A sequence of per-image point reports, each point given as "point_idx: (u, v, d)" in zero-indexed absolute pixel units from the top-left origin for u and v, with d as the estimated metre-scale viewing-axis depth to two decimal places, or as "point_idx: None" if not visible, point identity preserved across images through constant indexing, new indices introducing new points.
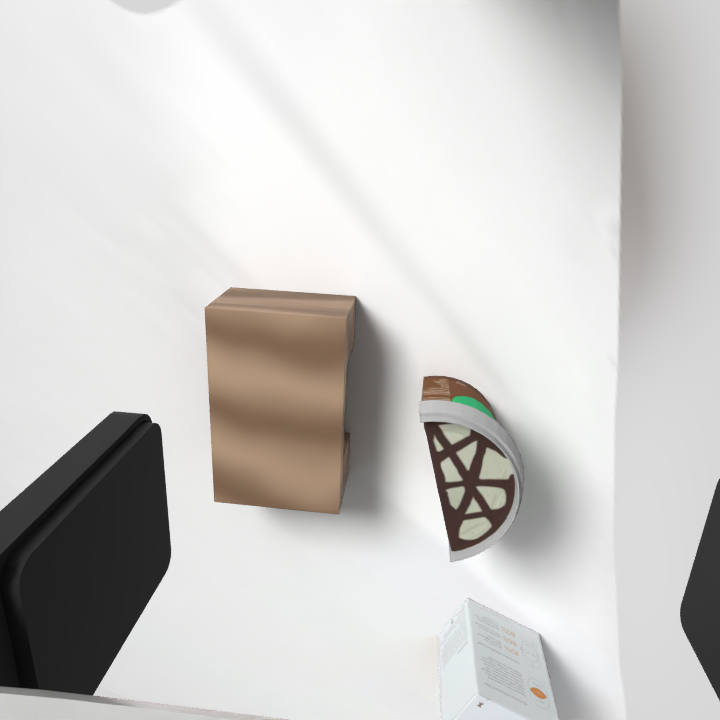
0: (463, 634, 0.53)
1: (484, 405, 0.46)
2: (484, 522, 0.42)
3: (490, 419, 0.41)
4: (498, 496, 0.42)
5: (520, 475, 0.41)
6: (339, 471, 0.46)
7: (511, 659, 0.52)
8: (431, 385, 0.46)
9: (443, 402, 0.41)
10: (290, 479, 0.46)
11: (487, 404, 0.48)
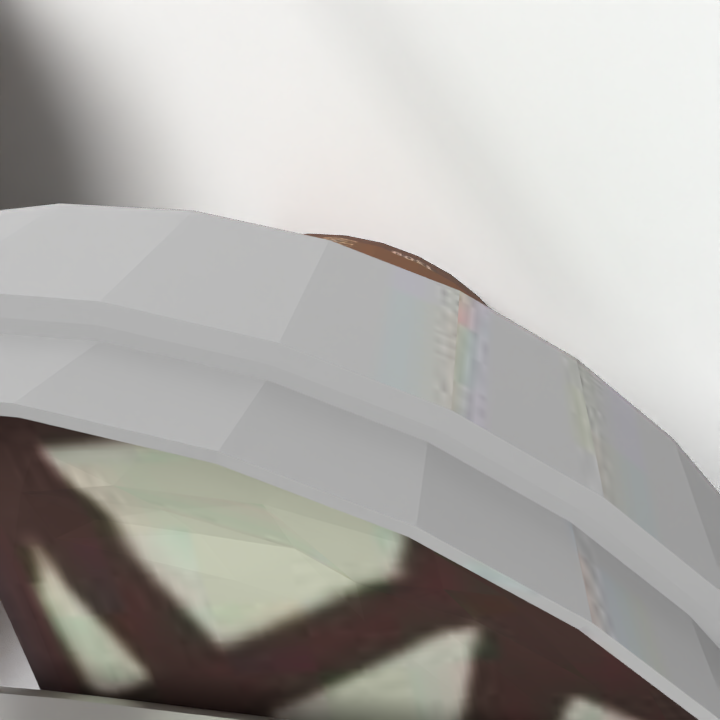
0: None
1: None
2: None
3: (614, 406, 0.04)
4: None
5: None
6: None
7: None
8: None
9: (151, 219, 0.04)
10: None
11: None
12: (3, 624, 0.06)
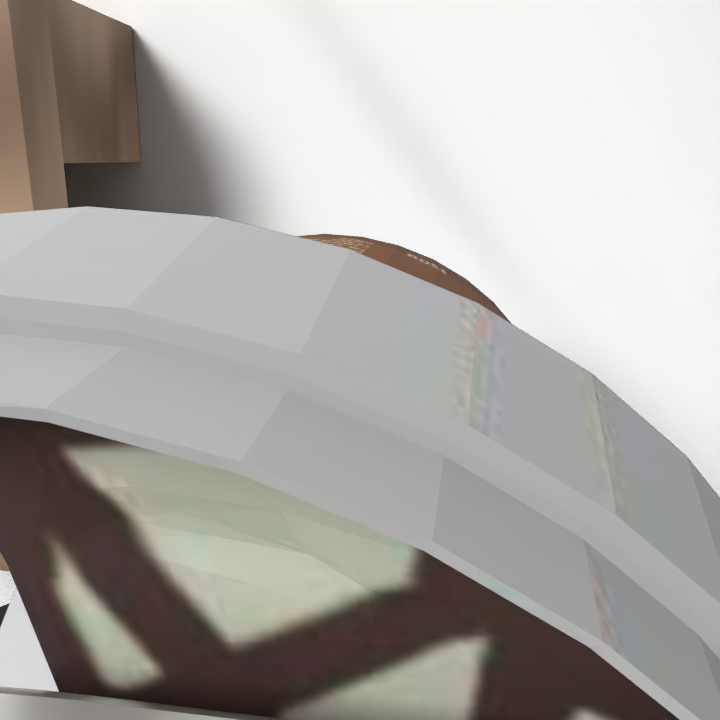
0: None
1: None
2: None
3: (628, 422, 0.04)
4: None
5: None
6: None
7: None
8: None
9: (176, 225, 0.04)
10: None
11: None
12: (15, 622, 0.06)
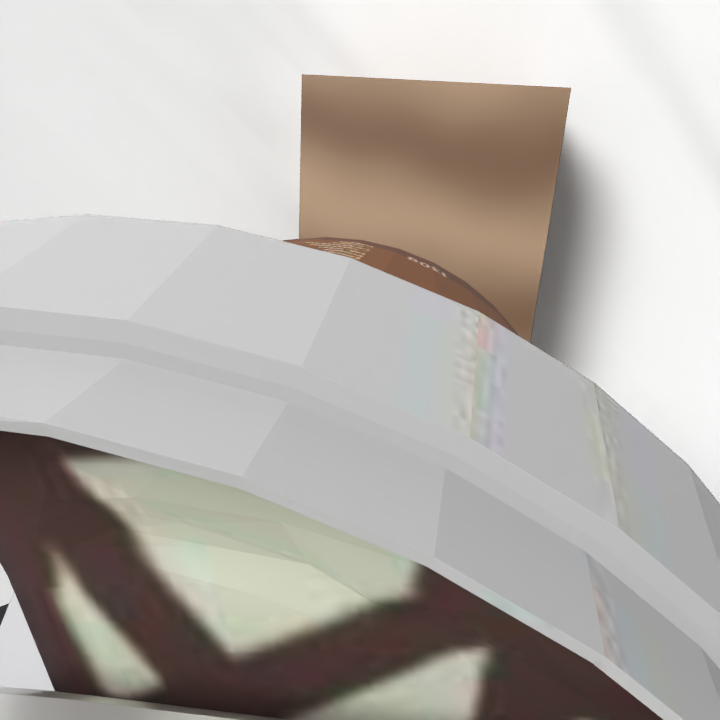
0: None
1: None
2: None
3: (630, 431, 0.04)
4: None
5: None
6: None
7: None
8: None
9: (176, 234, 0.04)
10: None
11: None
12: (14, 622, 0.06)
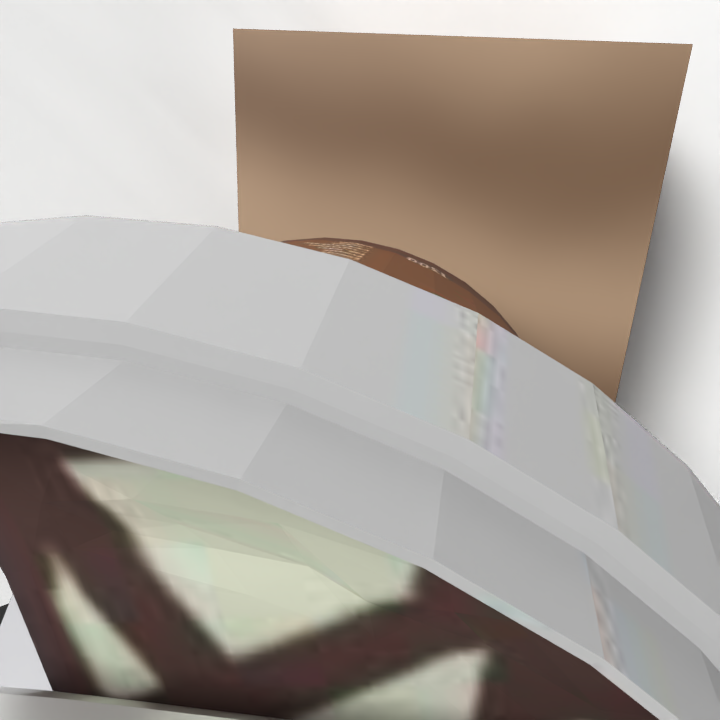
0: None
1: None
2: None
3: (629, 432, 0.04)
4: None
5: None
6: None
7: None
8: None
9: (175, 234, 0.04)
10: None
11: None
12: (15, 622, 0.06)
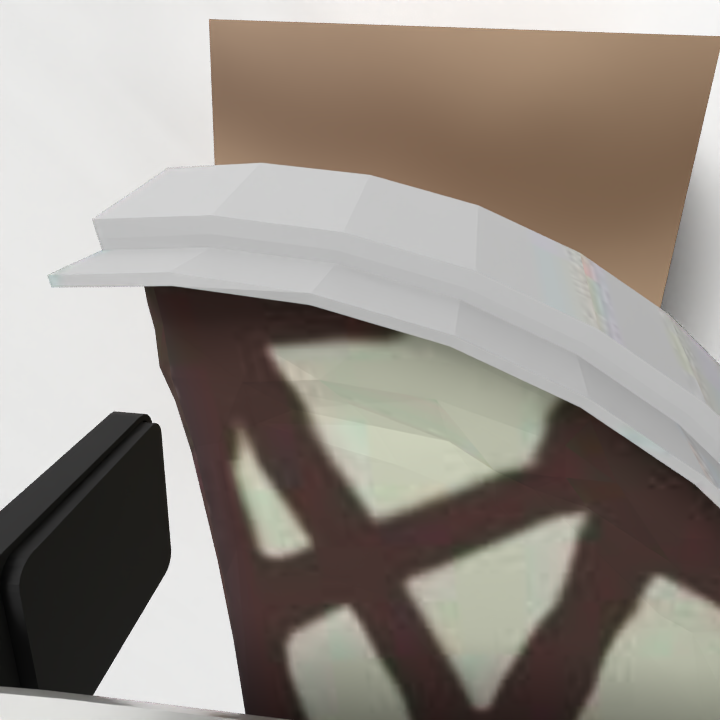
0: None
1: None
2: None
3: (698, 352, 0.05)
4: None
5: None
6: None
7: None
8: None
9: (342, 179, 0.05)
10: None
11: None
12: None
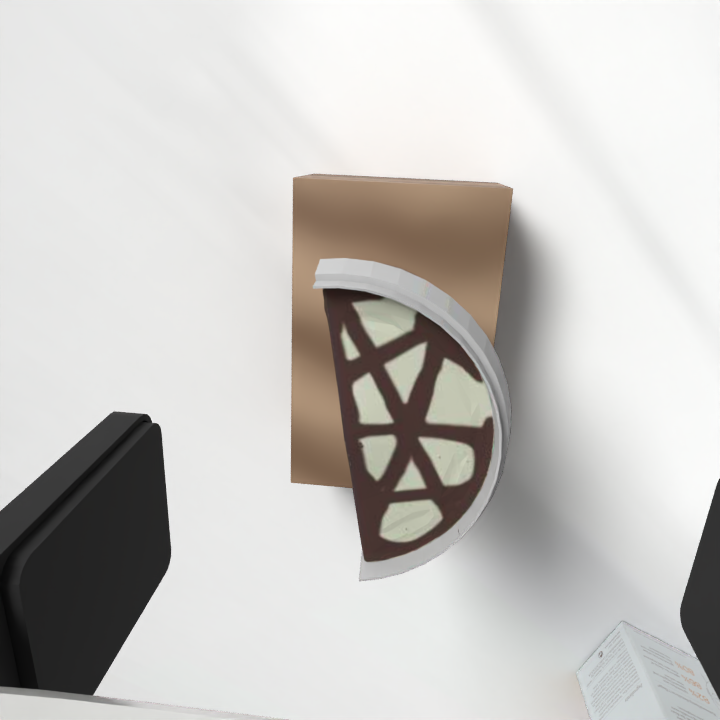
0: (629, 674, 0.38)
1: None
2: (429, 510, 0.22)
3: (456, 305, 0.21)
4: (460, 460, 0.21)
5: (505, 420, 0.21)
6: None
7: (704, 709, 0.36)
8: None
9: (367, 263, 0.20)
10: None
11: None
12: None
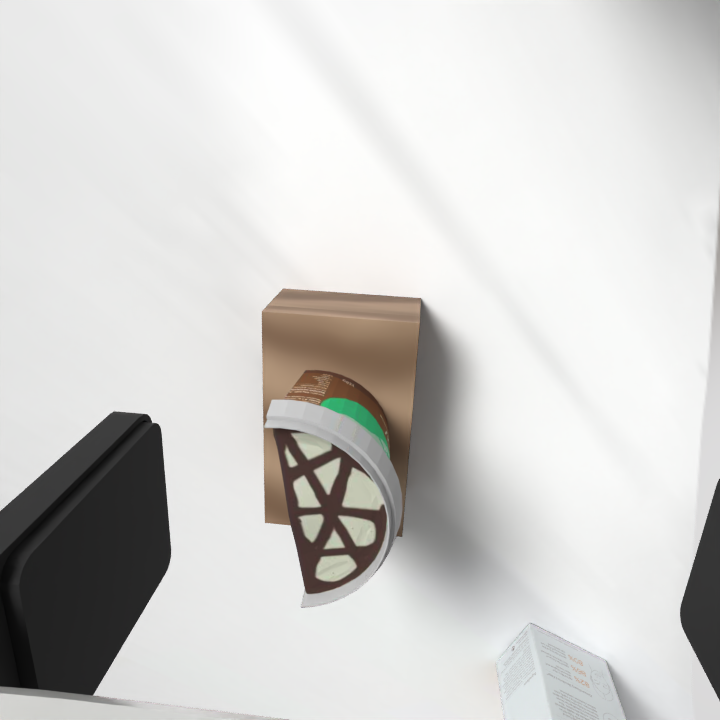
0: (529, 664, 0.49)
1: (370, 412, 0.37)
2: (347, 561, 0.33)
3: (361, 431, 0.31)
4: (366, 530, 0.32)
5: (393, 506, 0.31)
6: (404, 490, 0.42)
7: (583, 692, 0.47)
8: (308, 380, 0.37)
9: (302, 404, 0.31)
10: None
11: (378, 411, 0.38)
12: None
